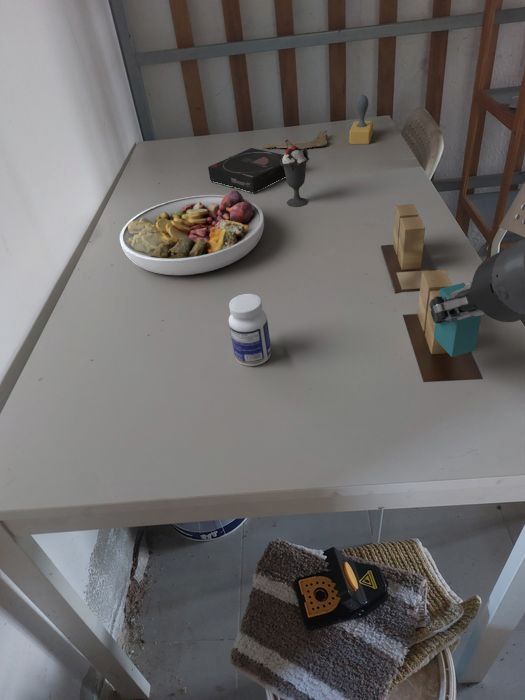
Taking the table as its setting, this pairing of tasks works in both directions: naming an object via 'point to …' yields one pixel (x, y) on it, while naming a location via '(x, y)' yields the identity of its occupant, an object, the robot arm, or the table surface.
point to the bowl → (193, 234)
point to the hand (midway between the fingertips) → (449, 312)
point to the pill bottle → (249, 330)
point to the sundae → (295, 172)
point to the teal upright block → (457, 329)
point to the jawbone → (317, 142)
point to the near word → (426, 348)
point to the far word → (407, 250)
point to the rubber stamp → (361, 124)
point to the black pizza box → (249, 170)
